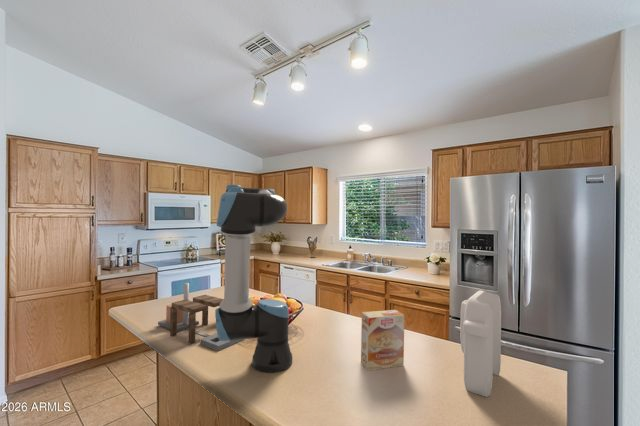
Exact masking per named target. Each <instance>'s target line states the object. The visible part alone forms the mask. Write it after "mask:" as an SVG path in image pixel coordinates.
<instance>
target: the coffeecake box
mask: <svg viewBox="0 0 640 426" xmlns="http://www.w3.org/2000/svg"><path fill="white" fill-rule="evenodd" d="M360 335H361V337H360V338H361V339H360V343H361V344H360V347H361V348H360V363H361V364H362V365H363V366H364V368H365V369H366V370H367V371H368V370H369V371H375V370H374V369H376V370H381V369H382V368H384V369H391V368H397V366H399V367H403V366H404V361H405V360H404V358H405V357H404V355H405V354H404V351H405V314H403V312H400V311H398V310H397V309H390V310H389V309H388V310H387V309H386V310H378V311H377V310H375V311H374V310H373V311H361V333H360ZM390 367H391V368H390Z"/></svg>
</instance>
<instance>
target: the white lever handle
mask: <svg viewBox="0 0 640 426" xmlns="http://www.w3.org/2000/svg"><path fill="white" fill-rule="evenodd" d="M182 300H189V301H190V283H189V282H185V283H183V299H182ZM165 307H166V311H165V312H166V313H165V314H166V319H162V320H160V321H157V325H158V326H160V327H163V328H165V329H167V330H170V308H171V307H172V303H171V304H168V305H166V306H165ZM198 325H200V321H198V320H196V326H198ZM187 328H189V312H185V311H182V310H179V309H177V332H181V331H183V330H185V329H187Z"/></svg>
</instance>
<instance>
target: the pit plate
mask: <svg viewBox="0 0 640 426" xmlns="http://www.w3.org/2000/svg"><path fill="white" fill-rule="evenodd" d="M209 335H210V336H208V337H205V336H204V337H202V338H200V345H203V346H204V347H208V348H211V349H212V350H216V351H218V352H220V351H221V350H224V349H226V348H228V347H231V346H233V345H235V344H238V343H240V342H242V341H244V340H245V339H242V340H233V341H221V340H219V338H218V335H217V332H216V333H214V334H209Z"/></svg>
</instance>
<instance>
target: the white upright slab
mask: <svg viewBox="0 0 640 426" xmlns="http://www.w3.org/2000/svg"><path fill="white" fill-rule="evenodd" d="M459 316H460V322H459V323H460V324H459V325H460V329H459V330H460V331H459V333H460V334H459V335H460V337H459V338H460V347H461V351H462V354H463V383H464V388H465V390H466V391H468V392H471V393H473V394H476V395H478V394H479V396H481V395H482V397H484V396H485V397H484V398H488V396H489V397H490V396H491V393H492V389H493V377H494V376H493V375H495V376H497V377H498V376H499V375H500V372H501V363H502V362H501V361H502V358H501V357H502V355H501V354H502V353H501V352H502V351H501V350H502V316H503V315H502V303H501V297H500V295H499V294H495V293H491V292H488V291H486V290H480V289H479V290H478V291H477V292H475V293H474V294H472V295H471V296H470V297H469V298H468V299H465V300H464V299H463V301H462V302H461V306H460V315H459Z"/></svg>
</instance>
